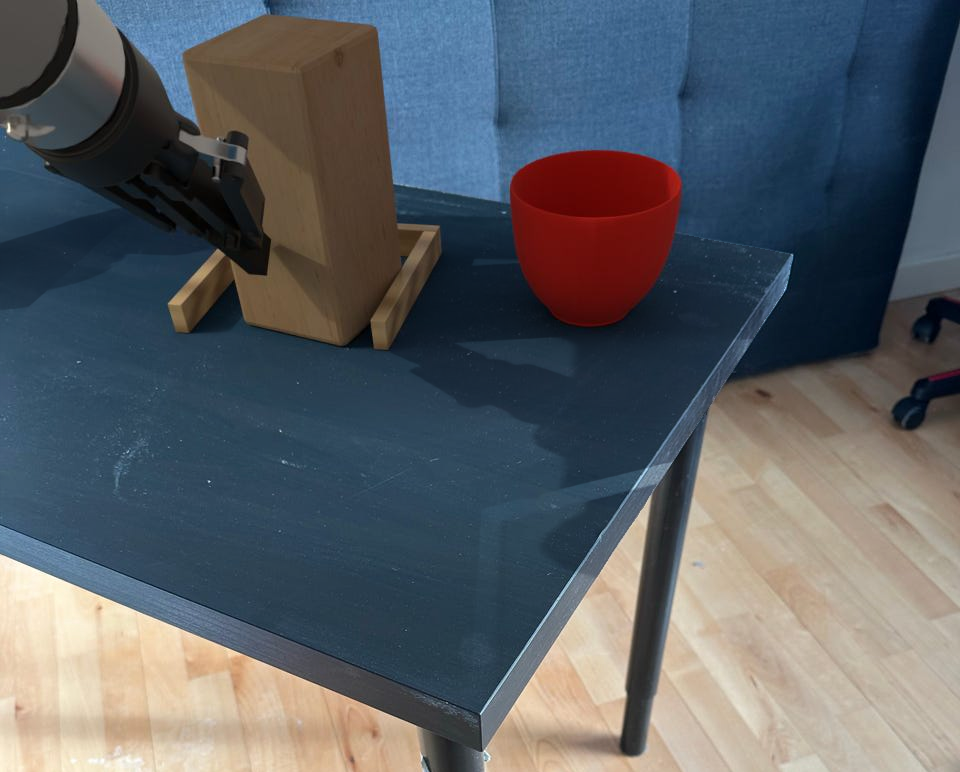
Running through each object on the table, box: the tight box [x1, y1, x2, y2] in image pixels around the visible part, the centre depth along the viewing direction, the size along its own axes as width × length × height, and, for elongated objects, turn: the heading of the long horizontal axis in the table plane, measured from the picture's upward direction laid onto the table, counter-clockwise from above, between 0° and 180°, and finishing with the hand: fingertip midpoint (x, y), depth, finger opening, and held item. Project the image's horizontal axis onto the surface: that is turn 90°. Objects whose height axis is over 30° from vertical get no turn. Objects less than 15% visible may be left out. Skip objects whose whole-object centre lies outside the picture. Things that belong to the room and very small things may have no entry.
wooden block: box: [181, 13, 403, 347], centre depth 72 cm, size 10×10×20 cm
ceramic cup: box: [509, 149, 683, 327], centre depth 75 cm, size 13×17×10 cm
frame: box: [167, 222, 443, 351], centre depth 80 cm, size 17×18×2 cm
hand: (260, 256), depth 70 cm, fingers closed
